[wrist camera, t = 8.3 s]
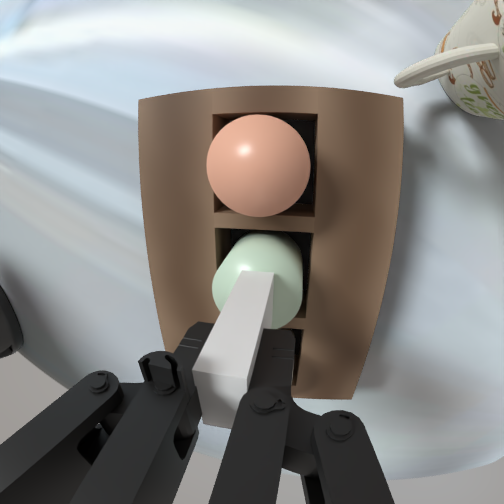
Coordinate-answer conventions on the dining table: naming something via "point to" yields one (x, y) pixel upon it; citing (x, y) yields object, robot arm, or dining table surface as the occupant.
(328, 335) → the button panel
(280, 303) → the button sage
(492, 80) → the mug
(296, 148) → the button terracotta
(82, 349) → the dining table surface
